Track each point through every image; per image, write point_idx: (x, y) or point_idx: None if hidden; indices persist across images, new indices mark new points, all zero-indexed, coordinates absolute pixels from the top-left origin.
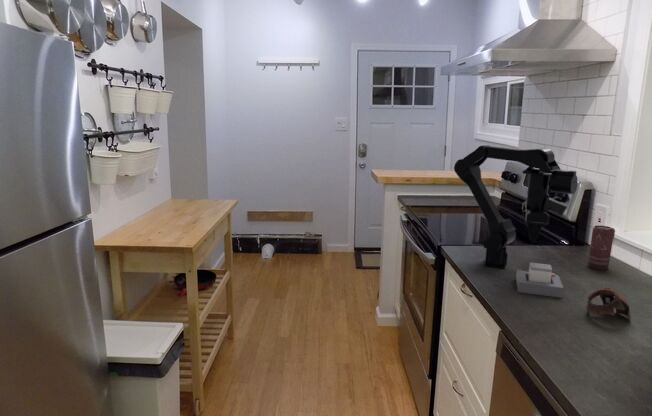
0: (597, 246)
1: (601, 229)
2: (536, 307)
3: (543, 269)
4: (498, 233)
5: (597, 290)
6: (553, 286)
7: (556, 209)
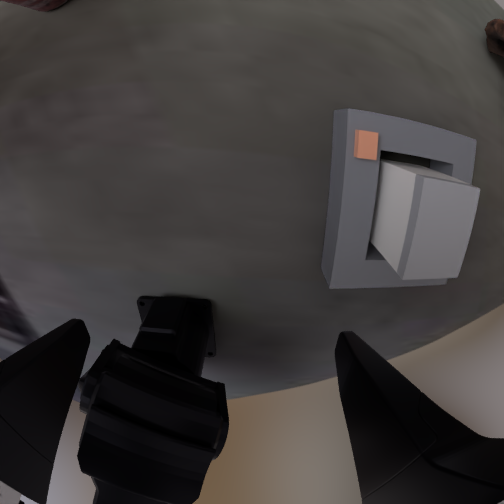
0: None
1: None
2: (500, 229)
3: (469, 225)
4: (216, 457)
5: None
6: (471, 173)
7: None
